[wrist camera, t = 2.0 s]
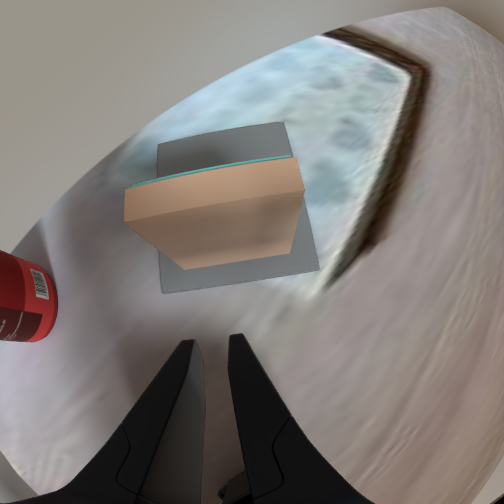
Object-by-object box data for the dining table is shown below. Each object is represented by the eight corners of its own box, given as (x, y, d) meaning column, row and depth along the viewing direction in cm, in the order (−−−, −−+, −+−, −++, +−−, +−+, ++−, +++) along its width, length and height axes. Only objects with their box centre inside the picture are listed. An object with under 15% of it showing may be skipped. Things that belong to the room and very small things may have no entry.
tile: (289, 253, 21) (304, 190, 12) (184, 269, 21) (123, 222, 12) (284, 228, 22) (294, 151, 12) (182, 245, 22) (125, 183, 12)
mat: (318, 270, 21) (319, 268, 21) (164, 293, 22) (161, 293, 21) (283, 125, 25) (283, 121, 25) (159, 147, 25) (157, 144, 25)
